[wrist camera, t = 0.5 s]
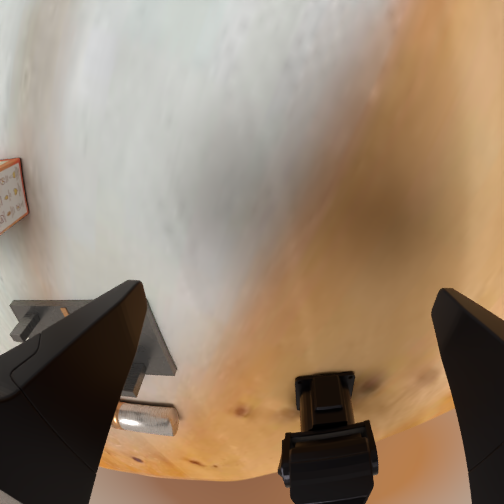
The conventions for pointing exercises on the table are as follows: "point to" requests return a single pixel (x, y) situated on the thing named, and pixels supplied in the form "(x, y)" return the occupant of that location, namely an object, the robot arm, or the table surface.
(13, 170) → the cracker box
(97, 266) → the table surface
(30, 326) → the stand
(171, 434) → the tube
